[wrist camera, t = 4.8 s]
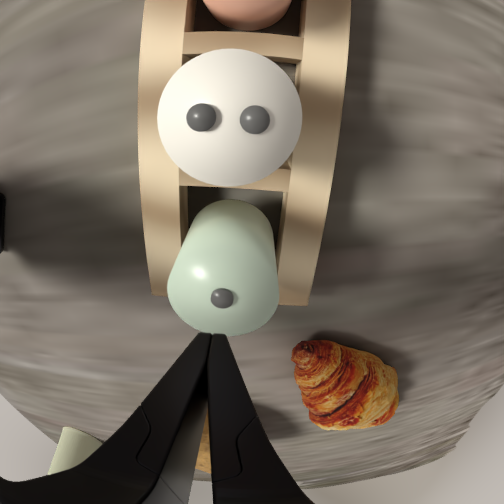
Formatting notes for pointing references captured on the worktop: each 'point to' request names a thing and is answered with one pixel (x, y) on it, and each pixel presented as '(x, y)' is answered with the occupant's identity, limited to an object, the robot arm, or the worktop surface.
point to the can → (72, 449)
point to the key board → (283, 179)
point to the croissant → (344, 385)
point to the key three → (248, 12)
